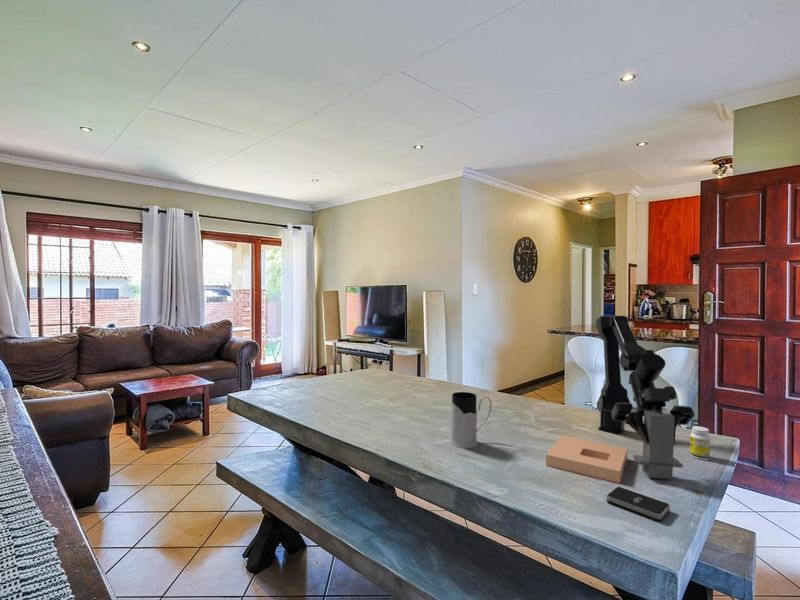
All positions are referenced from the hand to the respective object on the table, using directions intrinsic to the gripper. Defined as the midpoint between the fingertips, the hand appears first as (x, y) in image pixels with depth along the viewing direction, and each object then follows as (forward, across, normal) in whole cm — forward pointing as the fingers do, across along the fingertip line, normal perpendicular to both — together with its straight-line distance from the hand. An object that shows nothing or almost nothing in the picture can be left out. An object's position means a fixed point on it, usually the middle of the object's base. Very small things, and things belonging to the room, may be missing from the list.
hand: (660, 444), depth 106 cm
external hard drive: (+18, -11, -4) cm, 21 cm away
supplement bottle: (-6, +18, +19) cm, 27 cm away
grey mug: (-5, -48, +19) cm, 51 cm away
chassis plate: (+1, -15, +12) cm, 19 cm away
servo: (+5, 0, +7) cm, 9 cm away
